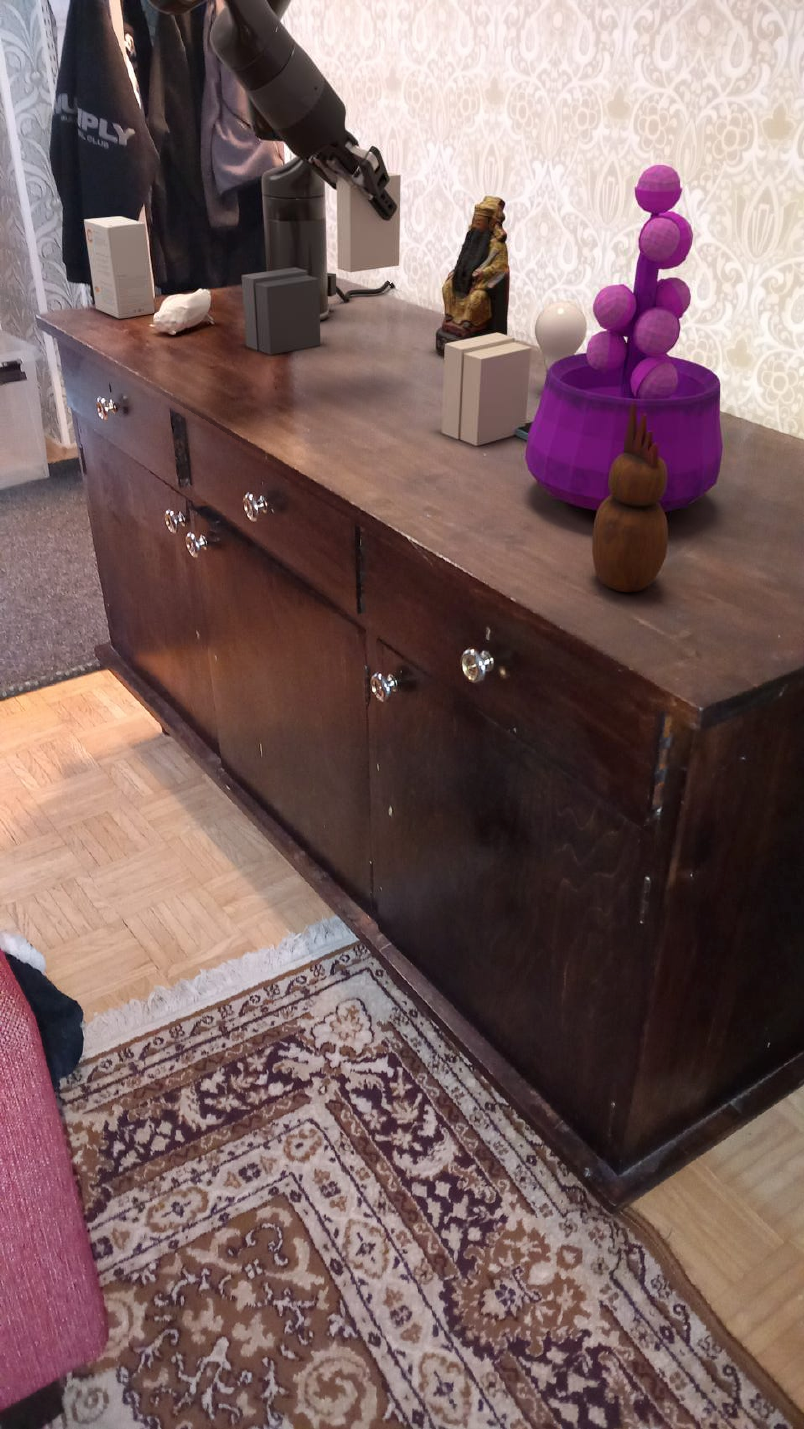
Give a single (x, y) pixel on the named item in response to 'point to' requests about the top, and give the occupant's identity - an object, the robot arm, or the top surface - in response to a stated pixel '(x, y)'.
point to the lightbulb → (560, 331)
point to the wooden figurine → (632, 514)
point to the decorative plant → (632, 377)
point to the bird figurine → (183, 311)
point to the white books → (485, 388)
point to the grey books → (281, 310)
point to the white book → (366, 229)
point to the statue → (478, 280)
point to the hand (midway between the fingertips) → (382, 212)
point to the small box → (119, 266)
